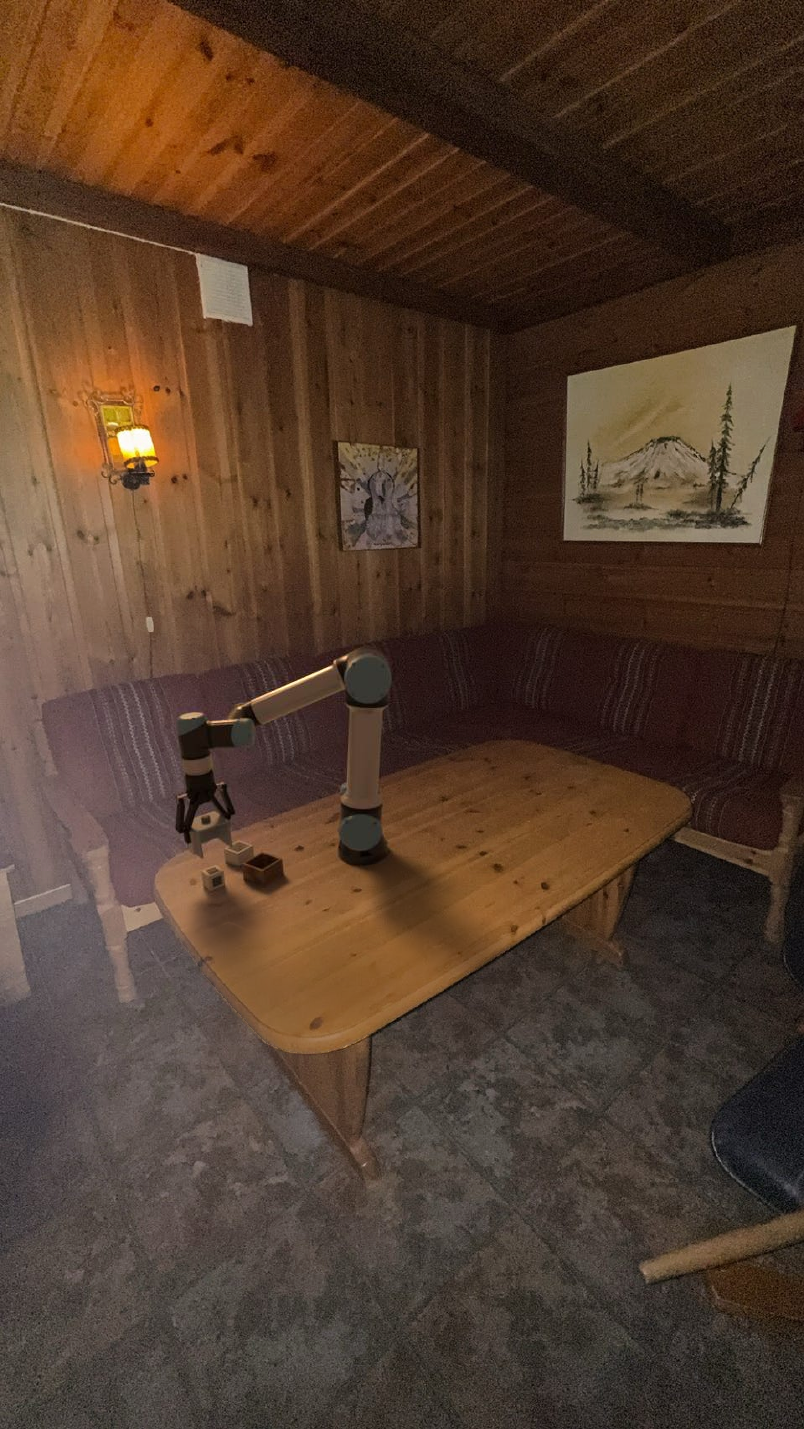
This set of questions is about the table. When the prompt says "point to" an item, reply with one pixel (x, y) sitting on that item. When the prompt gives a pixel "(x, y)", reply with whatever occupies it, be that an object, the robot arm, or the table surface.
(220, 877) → the cream boxy hollow piece
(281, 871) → the walnut bin
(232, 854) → the beige tub
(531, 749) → the table surface
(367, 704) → the robot arm
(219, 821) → the cover
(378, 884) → the table surface
